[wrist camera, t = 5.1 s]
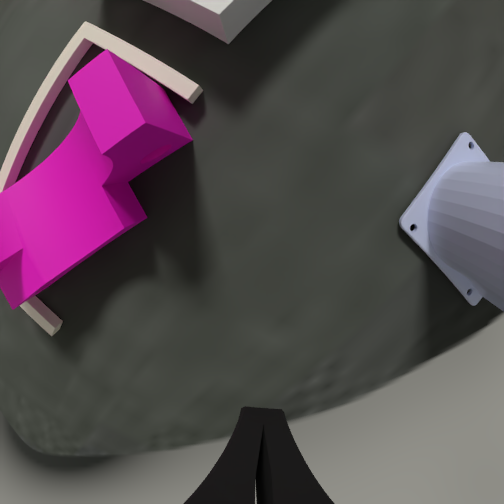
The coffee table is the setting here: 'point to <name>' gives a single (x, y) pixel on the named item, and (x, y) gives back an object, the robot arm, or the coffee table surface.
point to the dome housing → (214, 14)
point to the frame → (48, 96)
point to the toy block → (86, 177)
